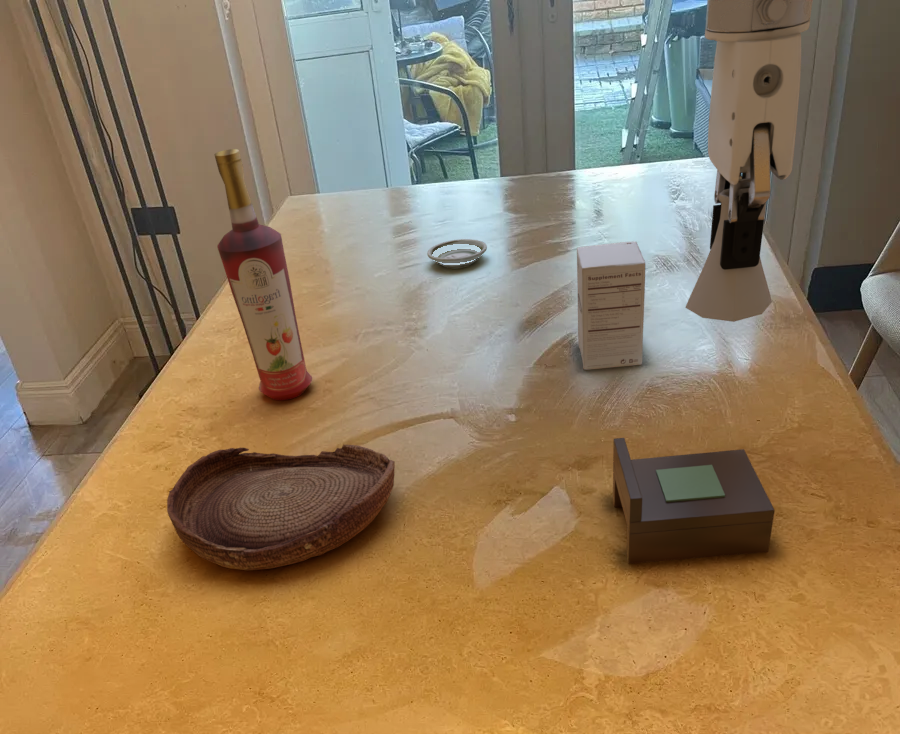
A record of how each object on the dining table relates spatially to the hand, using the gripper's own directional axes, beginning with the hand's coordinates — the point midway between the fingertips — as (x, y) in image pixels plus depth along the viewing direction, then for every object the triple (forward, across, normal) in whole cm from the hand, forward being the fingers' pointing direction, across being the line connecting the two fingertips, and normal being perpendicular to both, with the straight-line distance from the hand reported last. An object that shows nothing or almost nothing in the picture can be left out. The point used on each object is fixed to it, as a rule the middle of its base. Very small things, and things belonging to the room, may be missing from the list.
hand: (733, 256), depth 75 cm
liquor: (+19, +22, +49) cm, 57 cm away
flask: (+5, 0, 0) cm, 5 cm away
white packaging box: (+19, +24, +8) cm, 32 cm away
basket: (+19, -7, +43) cm, 48 cm away
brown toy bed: (+19, -13, +5) cm, 24 cm away
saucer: (+19, +63, +28) cm, 72 cm away
